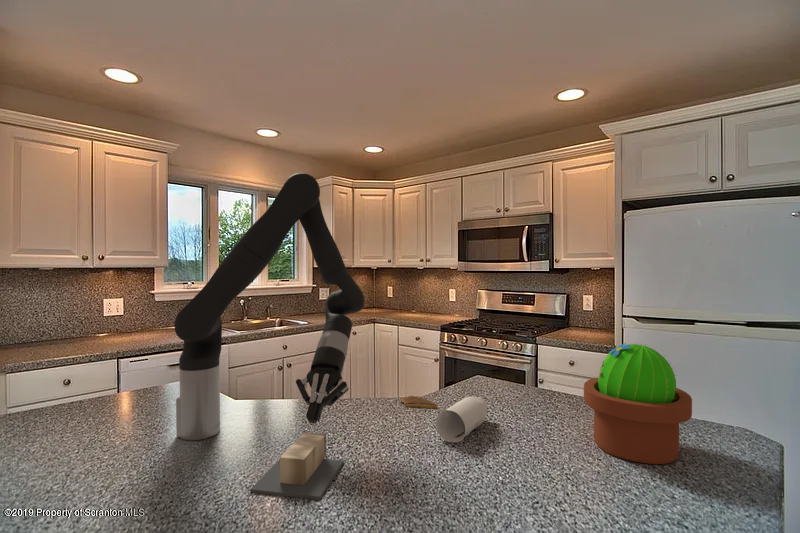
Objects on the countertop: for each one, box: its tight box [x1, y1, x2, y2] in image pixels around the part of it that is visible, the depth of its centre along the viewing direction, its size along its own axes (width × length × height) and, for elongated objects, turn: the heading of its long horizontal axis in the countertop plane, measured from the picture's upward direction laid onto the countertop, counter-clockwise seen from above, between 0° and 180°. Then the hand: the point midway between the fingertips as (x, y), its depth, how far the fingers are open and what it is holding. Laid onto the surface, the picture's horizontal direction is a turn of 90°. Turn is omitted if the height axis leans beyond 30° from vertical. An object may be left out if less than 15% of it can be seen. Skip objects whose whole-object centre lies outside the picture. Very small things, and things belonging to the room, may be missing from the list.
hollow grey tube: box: [434, 396, 489, 444], centre depth 108 cm, size 8×19×8 cm, turn 145°
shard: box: [399, 395, 439, 409], centre depth 126 cm, size 11×8×2 cm
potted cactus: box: [583, 342, 693, 465], centre depth 98 cm, size 22×22×25 cm
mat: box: [249, 458, 345, 501], centre depth 85 cm, size 14×14×1 cm
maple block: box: [279, 432, 327, 485], centre depth 87 cm, size 5×5×12 cm
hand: (312, 421), depth 91 cm, fingers closed
